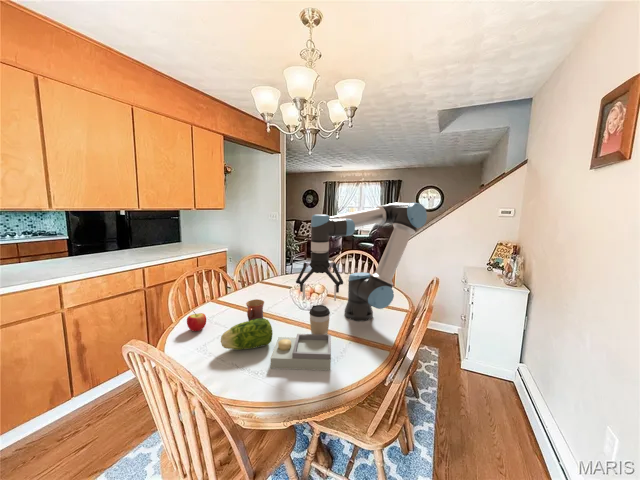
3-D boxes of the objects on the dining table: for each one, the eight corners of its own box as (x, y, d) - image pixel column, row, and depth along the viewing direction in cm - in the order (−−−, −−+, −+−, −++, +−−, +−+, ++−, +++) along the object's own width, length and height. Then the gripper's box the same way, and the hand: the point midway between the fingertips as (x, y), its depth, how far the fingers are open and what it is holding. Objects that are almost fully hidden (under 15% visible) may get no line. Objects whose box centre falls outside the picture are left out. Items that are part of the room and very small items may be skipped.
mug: (251, 317, 139) (251, 298, 137) (267, 319, 137) (266, 300, 135) (240, 328, 127) (239, 307, 125) (257, 330, 125) (256, 309, 124)
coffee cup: (332, 335, 121) (332, 304, 118) (325, 346, 112) (326, 312, 110) (313, 332, 124) (313, 301, 121) (306, 342, 115) (306, 309, 113)
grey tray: (330, 347, 111) (330, 334, 110) (330, 370, 96) (330, 355, 95) (278, 345, 112) (278, 332, 111) (270, 368, 97) (270, 353, 96)
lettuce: (219, 346, 111) (218, 321, 109) (267, 335, 120) (267, 312, 119) (223, 361, 101) (221, 334, 99) (275, 348, 110) (275, 323, 108)
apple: (183, 332, 122) (181, 312, 121) (197, 324, 130) (196, 305, 129) (197, 335, 120) (195, 314, 118) (210, 327, 128) (209, 307, 126)
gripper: (348, 250, 115) (347, 296, 118) (291, 249, 116) (292, 295, 119) (350, 253, 108) (348, 303, 111) (289, 252, 109) (289, 301, 112)
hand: (319, 299), depth 115 cm, fingers open, 13 cm apart
